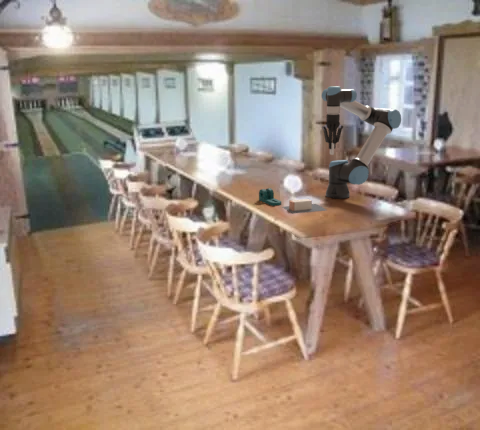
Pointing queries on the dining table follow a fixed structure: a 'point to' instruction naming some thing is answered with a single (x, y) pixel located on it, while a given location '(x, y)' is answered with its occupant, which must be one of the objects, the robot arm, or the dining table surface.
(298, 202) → the cream block
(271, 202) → the bracket
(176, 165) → the dining table surface
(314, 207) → the slate mat
